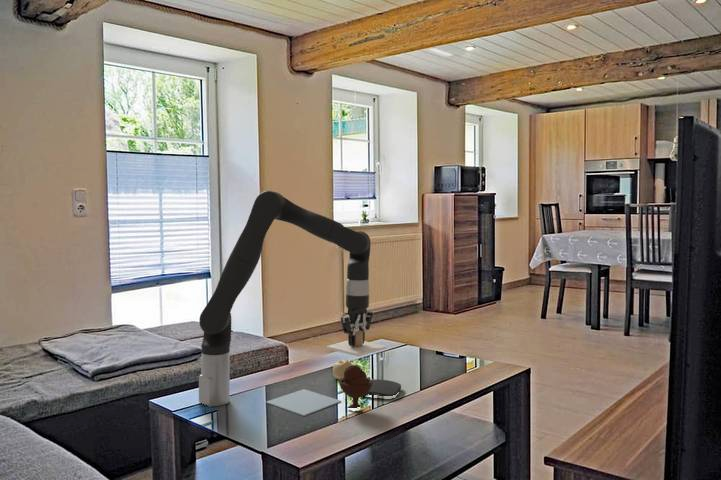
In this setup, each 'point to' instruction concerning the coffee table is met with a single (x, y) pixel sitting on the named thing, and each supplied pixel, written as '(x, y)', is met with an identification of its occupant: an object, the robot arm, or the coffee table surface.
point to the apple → (340, 368)
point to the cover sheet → (355, 350)
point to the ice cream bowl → (355, 384)
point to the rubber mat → (303, 402)
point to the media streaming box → (384, 388)
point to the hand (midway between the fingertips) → (356, 344)
